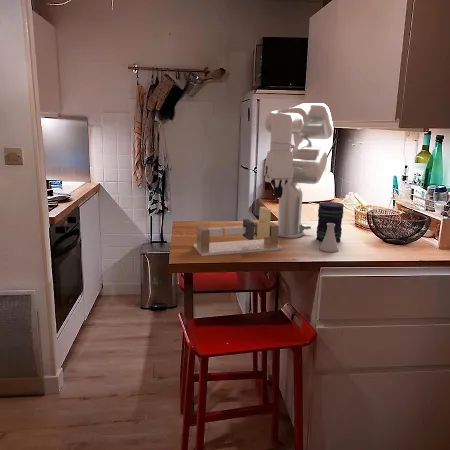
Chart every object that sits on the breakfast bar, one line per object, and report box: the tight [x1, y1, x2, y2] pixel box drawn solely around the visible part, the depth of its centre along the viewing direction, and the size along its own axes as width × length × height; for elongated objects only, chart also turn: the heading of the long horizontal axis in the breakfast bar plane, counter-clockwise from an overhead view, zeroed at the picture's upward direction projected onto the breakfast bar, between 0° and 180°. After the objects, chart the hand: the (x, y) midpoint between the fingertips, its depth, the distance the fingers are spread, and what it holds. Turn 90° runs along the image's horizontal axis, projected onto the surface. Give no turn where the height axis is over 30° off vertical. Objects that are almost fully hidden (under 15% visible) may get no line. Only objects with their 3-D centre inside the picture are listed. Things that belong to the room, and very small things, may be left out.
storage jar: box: [315, 201, 345, 244], centre depth 178 cm, size 10×10×15 cm
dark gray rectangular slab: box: [242, 218, 255, 240], centre depth 165 cm, size 2×6×6 cm, turn 19°
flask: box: [319, 223, 339, 253], centre depth 166 cm, size 7×7×10 cm
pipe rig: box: [193, 221, 283, 257], centre depth 165 cm, size 31×12×8 cm, turn 108°
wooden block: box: [251, 206, 272, 239], centre depth 166 cm, size 5×6×11 cm
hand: (277, 197), depth 166 cm, fingers closed
